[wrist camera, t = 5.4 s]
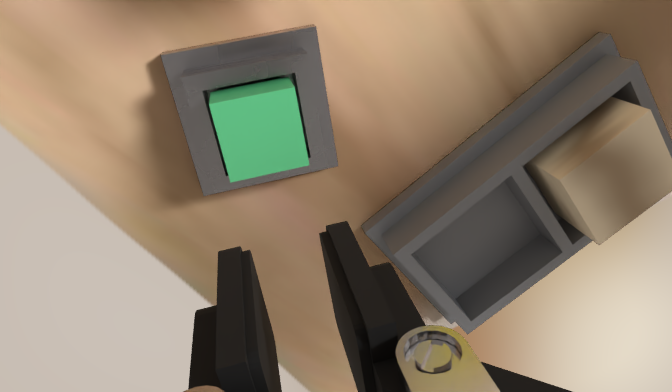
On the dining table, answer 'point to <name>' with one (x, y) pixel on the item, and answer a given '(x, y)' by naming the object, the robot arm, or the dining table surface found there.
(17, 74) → the dining table surface
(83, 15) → the dining table surface
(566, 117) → the divided grey tray
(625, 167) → the block
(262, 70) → the button housing
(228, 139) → the button
